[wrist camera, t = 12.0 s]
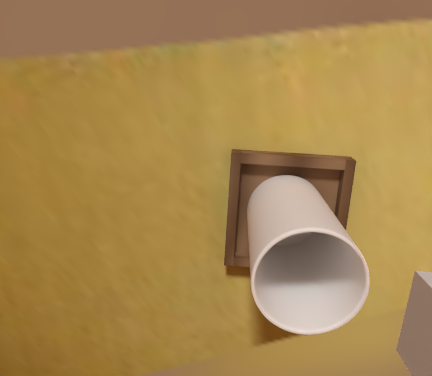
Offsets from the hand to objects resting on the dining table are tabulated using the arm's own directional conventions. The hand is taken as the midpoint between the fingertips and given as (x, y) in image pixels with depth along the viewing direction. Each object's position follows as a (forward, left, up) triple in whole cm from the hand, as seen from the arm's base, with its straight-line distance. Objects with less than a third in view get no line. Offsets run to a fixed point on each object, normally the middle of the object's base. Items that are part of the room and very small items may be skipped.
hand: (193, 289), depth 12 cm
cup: (+7, -7, -31) cm, 32 cm away
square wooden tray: (+7, -7, -31) cm, 33 cm away
